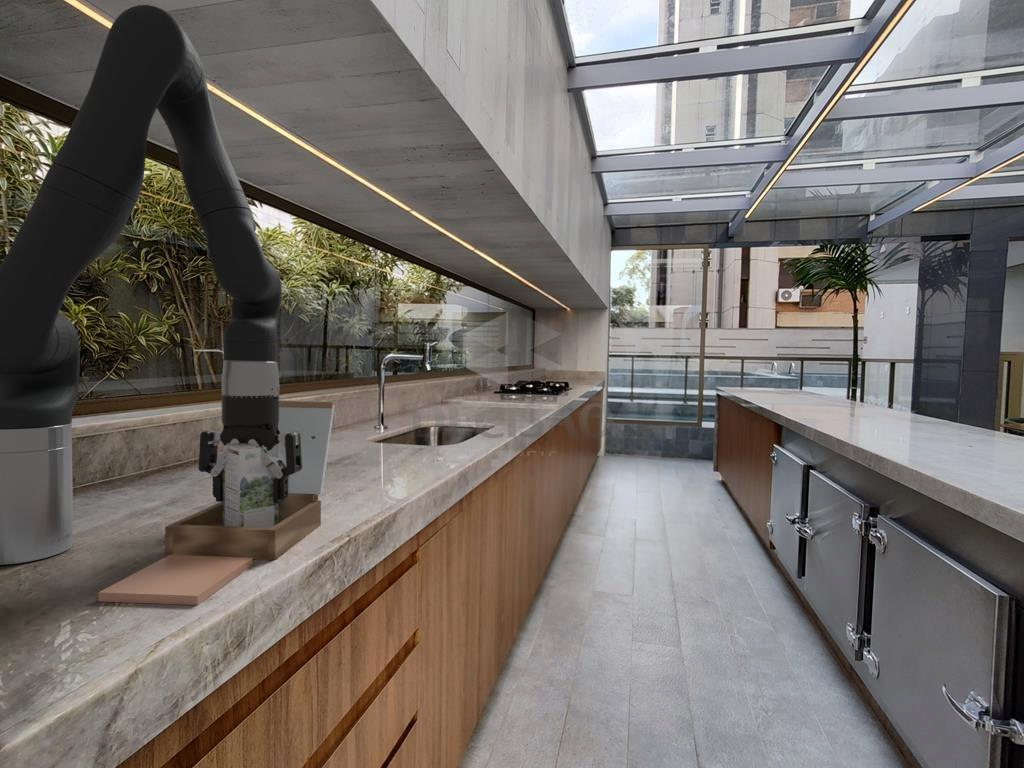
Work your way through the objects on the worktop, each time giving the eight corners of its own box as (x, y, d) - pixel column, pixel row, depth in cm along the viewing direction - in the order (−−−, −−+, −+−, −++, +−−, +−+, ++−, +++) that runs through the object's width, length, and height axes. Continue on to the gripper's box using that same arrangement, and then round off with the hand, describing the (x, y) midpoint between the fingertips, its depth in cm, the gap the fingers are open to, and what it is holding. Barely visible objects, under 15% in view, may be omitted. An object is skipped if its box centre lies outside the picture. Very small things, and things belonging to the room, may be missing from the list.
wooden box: (165, 556, 69) (164, 452, 68) (243, 515, 88) (243, 433, 87) (275, 559, 68) (275, 455, 68) (330, 517, 87) (330, 435, 87)
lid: (228, 493, 83) (228, 402, 83) (249, 484, 89) (249, 399, 89) (320, 495, 83) (320, 404, 82) (334, 486, 89) (335, 401, 88)
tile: (98, 601, 56) (98, 592, 56) (169, 562, 67) (169, 554, 67) (197, 604, 55) (197, 595, 55) (252, 565, 66) (252, 557, 66)
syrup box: (260, 530, 80) (261, 438, 80) (279, 539, 76) (279, 442, 76) (221, 539, 76) (221, 441, 75) (239, 549, 72) (239, 446, 71)
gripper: (186, 392, 72) (186, 507, 72) (286, 394, 71) (286, 510, 72) (218, 389, 79) (218, 493, 80) (309, 391, 79) (309, 496, 79)
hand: (250, 501), depth 76 cm, fingers open, 8 cm apart
